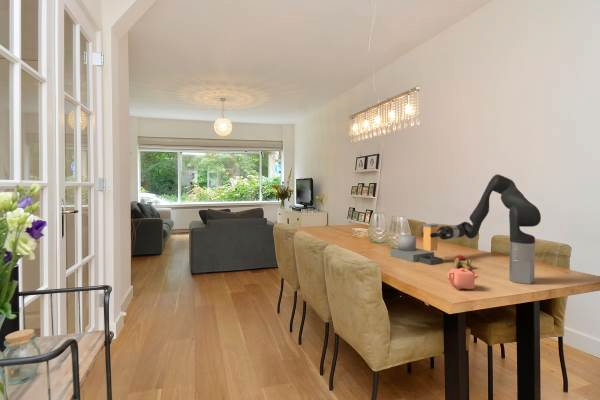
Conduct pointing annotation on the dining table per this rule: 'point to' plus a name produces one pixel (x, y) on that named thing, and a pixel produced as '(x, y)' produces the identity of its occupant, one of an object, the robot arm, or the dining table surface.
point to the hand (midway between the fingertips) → (426, 234)
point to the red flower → (462, 262)
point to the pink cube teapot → (462, 278)
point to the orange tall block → (429, 242)
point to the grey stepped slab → (413, 251)
